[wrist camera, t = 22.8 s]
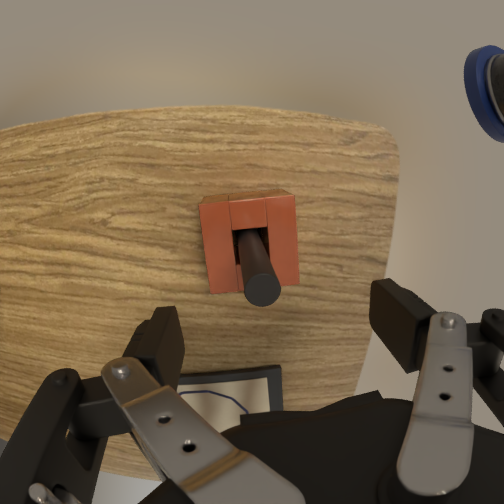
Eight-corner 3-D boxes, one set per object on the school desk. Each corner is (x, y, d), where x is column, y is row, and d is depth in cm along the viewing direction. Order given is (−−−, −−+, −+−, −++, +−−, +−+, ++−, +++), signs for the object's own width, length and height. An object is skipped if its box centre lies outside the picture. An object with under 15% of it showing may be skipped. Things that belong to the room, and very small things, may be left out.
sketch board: (280, 364, 30) (281, 368, 29) (284, 444, 34) (285, 449, 33) (112, 375, 29) (110, 379, 28) (148, 452, 33) (148, 456, 32)
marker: (254, 218, 26) (280, 271, 13) (255, 236, 26) (282, 304, 14) (234, 220, 26) (242, 275, 13) (236, 238, 26) (246, 309, 14)
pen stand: (281, 188, 25) (294, 194, 20) (287, 262, 27) (299, 284, 22) (203, 196, 25) (198, 204, 20) (213, 270, 27) (210, 294, 22)
